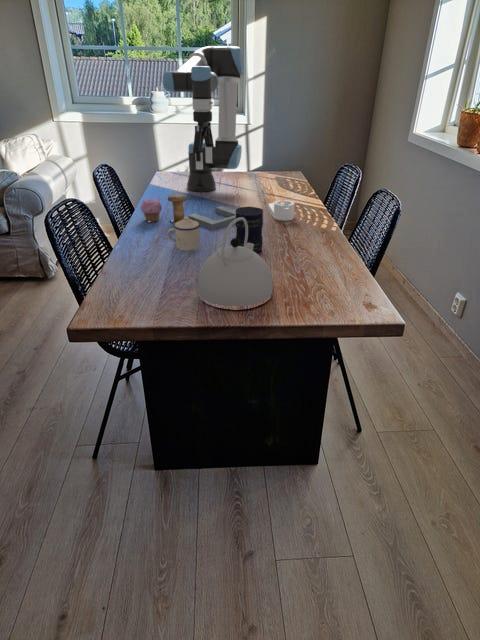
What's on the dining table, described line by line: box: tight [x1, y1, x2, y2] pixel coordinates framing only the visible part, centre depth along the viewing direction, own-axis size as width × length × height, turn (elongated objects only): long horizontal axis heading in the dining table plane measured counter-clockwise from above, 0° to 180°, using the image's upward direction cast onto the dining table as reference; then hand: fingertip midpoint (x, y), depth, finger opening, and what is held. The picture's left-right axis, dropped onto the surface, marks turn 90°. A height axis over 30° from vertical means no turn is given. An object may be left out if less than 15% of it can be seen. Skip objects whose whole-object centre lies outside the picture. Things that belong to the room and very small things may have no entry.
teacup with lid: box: [166, 215, 201, 251], centre depth 163 cm, size 12×9×12 cm
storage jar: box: [234, 206, 264, 255], centre depth 159 cm, size 10×10×15 cm
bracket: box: [267, 199, 295, 222], centre depth 200 cm, size 20×9×7 cm, turn 9°
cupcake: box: [140, 198, 163, 223], centre depth 188 cm, size 9×9×10 cm
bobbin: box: [167, 193, 188, 224], centre depth 187 cm, size 8×8×11 cm
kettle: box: [197, 217, 273, 306], centre depth 130 cm, size 25×23×22 cm
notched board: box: [187, 205, 236, 231], centre depth 192 cm, size 16×20×2 cm
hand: (204, 166), depth 187 cm, fingers open, 13 cm apart
